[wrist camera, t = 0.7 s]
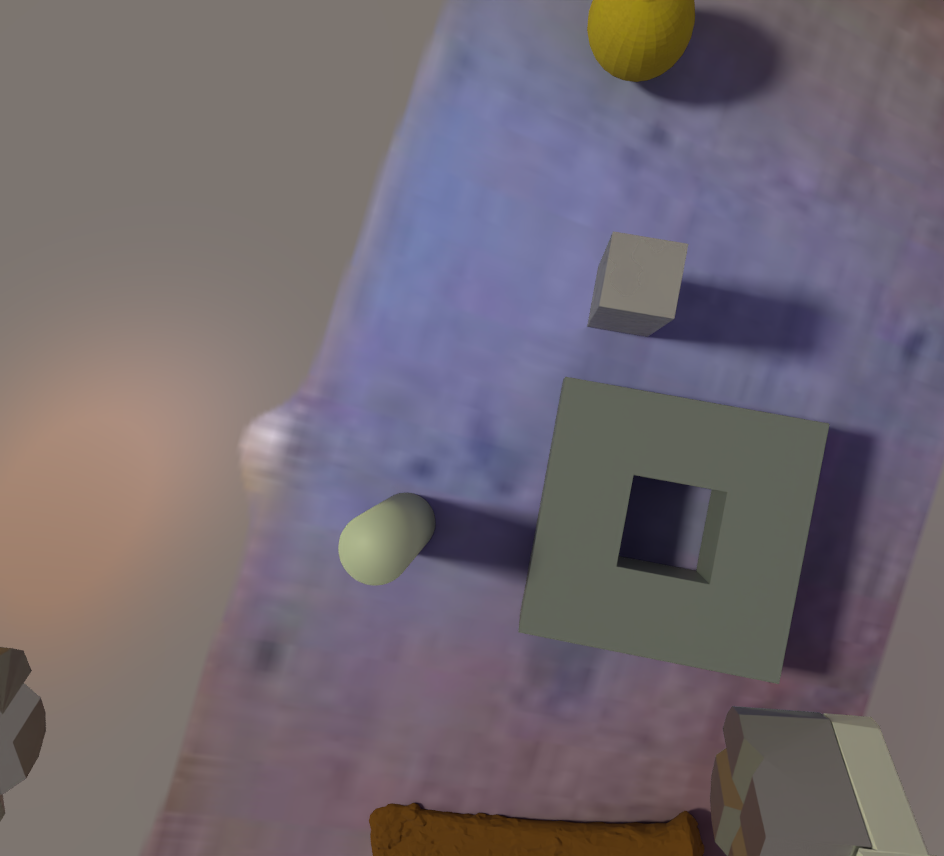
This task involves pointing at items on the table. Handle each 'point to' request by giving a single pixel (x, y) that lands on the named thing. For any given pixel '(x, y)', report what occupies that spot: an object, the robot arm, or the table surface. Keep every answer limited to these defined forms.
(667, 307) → the square bit
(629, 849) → the primitive tool
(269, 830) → the table surface
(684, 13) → the lemon
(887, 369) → the table surface
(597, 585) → the socket block
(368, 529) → the round bit
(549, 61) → the table surface
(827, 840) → the robot arm
